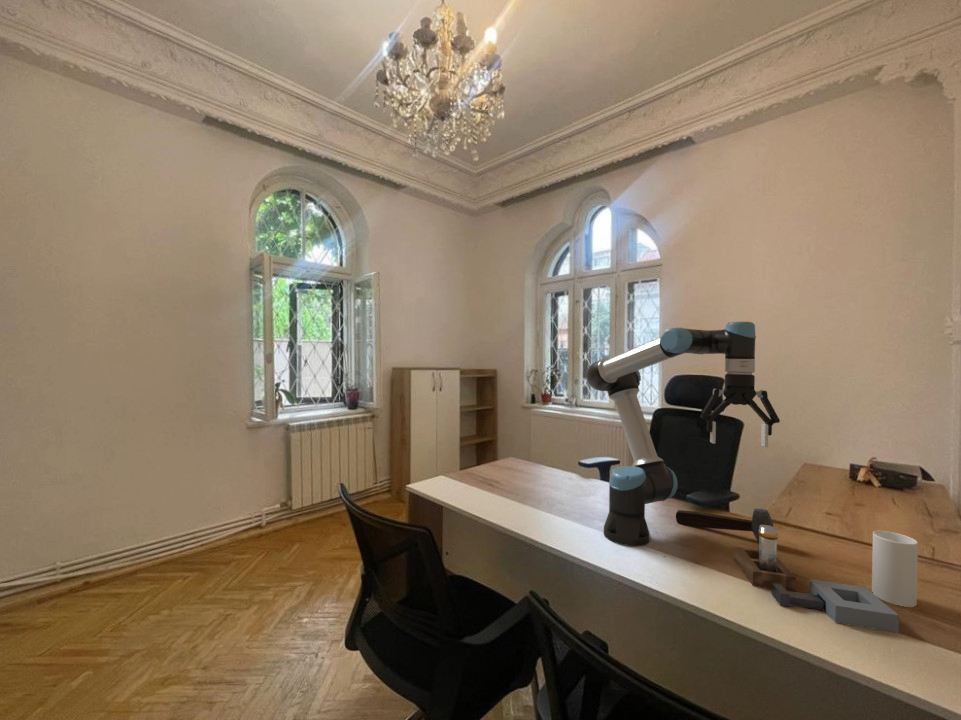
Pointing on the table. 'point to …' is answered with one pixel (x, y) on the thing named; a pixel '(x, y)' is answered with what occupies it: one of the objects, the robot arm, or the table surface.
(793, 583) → the rack
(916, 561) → the cup
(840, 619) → the socket block
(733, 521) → the hammer
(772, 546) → the rod
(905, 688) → the table surface
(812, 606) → the dark grey t-shaped block
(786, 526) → the table surface
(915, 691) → the table surface
